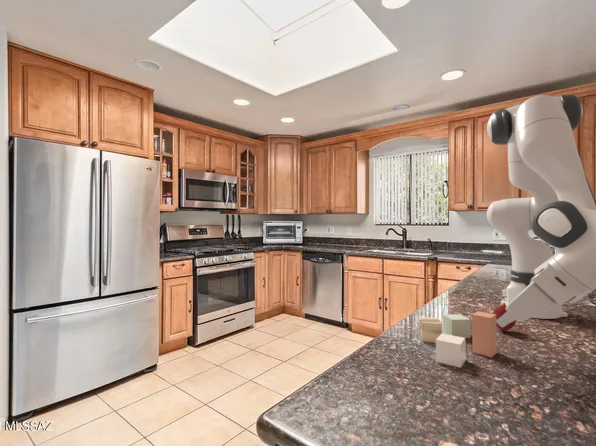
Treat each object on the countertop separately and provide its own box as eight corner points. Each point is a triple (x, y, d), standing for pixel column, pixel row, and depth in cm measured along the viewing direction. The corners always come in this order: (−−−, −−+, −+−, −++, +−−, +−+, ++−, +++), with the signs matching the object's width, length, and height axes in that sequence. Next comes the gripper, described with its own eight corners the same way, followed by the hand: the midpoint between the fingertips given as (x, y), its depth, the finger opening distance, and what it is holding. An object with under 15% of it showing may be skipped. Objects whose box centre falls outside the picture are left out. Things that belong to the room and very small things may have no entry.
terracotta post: (478, 347, 79) (477, 311, 79) (496, 352, 76) (496, 314, 76) (472, 352, 76) (472, 314, 76) (491, 357, 73) (491, 317, 73)
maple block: (419, 335, 88) (418, 317, 88) (438, 336, 87) (438, 318, 87) (421, 341, 83) (421, 322, 83) (442, 343, 82) (442, 323, 82)
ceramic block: (442, 354, 75) (441, 333, 75) (465, 360, 72) (465, 337, 72) (436, 362, 71) (435, 339, 71) (460, 368, 68) (460, 344, 68)
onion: (520, 335, 87) (520, 305, 87) (497, 334, 88) (496, 305, 88) (510, 328, 93) (510, 300, 93) (489, 327, 94) (488, 300, 94)
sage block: (443, 332, 91) (442, 314, 91) (460, 331, 91) (460, 314, 91) (452, 338, 86) (451, 319, 86) (470, 338, 86) (470, 319, 86)
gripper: (554, 264, 75) (506, 300, 82) (536, 274, 60) (479, 316, 67) (580, 286, 71) (528, 321, 78) (567, 302, 57) (504, 343, 64)
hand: (505, 319), depth 73 cm, fingers open, 8 cm apart
